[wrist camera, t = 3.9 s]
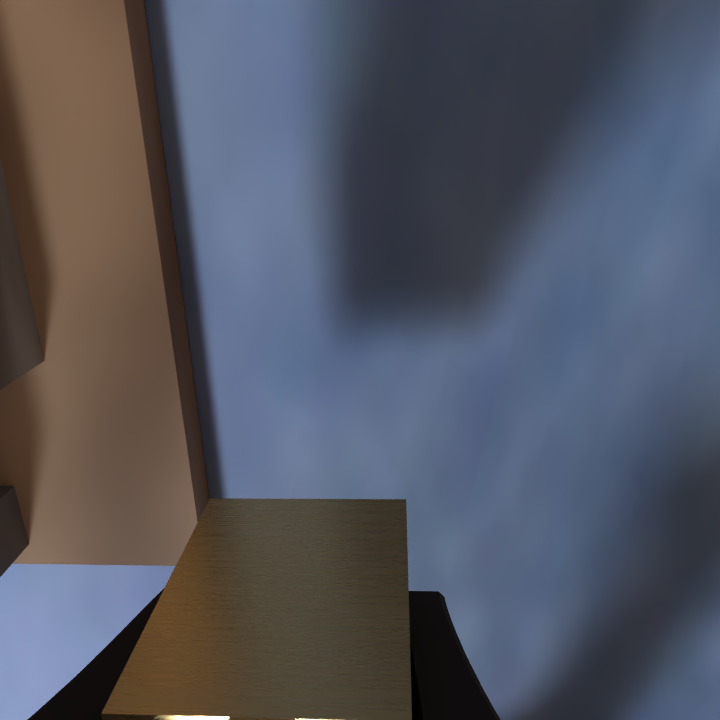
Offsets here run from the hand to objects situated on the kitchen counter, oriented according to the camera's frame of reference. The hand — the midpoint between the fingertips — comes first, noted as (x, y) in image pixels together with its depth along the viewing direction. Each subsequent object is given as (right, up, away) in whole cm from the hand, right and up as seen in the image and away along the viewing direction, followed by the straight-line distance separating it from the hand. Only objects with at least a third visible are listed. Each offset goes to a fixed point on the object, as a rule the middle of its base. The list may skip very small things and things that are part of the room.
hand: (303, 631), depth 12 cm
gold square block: (0, +1, +1) cm, 2 cm away
